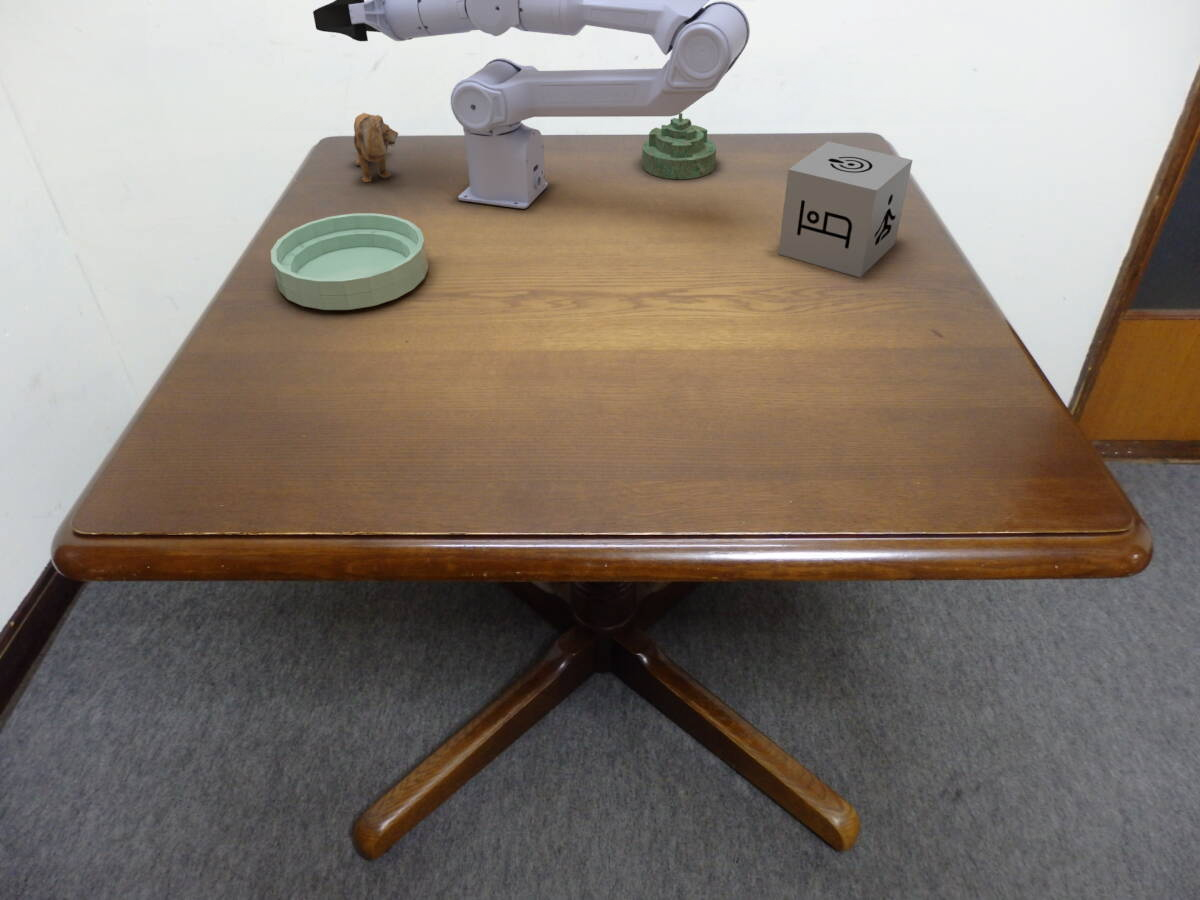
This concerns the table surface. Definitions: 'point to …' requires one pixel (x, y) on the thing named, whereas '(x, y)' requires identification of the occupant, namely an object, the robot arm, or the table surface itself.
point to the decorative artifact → (678, 151)
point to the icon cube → (843, 207)
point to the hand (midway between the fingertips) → (335, 20)
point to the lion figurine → (372, 143)
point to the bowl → (349, 261)
